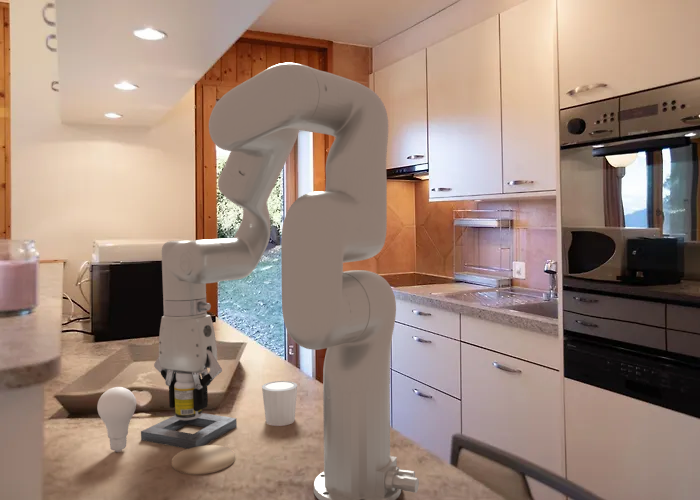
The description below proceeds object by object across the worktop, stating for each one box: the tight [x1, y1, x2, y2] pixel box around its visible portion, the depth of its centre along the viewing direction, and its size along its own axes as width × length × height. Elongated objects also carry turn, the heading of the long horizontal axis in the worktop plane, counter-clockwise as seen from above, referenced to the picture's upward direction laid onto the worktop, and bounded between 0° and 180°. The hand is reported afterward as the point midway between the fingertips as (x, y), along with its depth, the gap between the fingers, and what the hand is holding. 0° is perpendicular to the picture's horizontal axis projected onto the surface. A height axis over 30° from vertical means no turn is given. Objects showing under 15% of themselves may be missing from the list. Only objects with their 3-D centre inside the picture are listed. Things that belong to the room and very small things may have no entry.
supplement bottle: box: [174, 371, 203, 420], centre depth 105 cm, size 5×5×8 cm
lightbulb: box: [96, 386, 137, 453], centre depth 97 cm, size 6×6×11 cm
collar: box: [140, 412, 238, 450], centre depth 105 cm, size 12×12×2 cm
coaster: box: [171, 444, 236, 475], centre depth 93 cm, size 10×10×1 cm
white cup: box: [261, 380, 298, 427], centre depth 112 cm, size 7×7×7 cm
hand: (188, 406), depth 105 cm, fingers closed on supplement bottle, 4 cm apart
